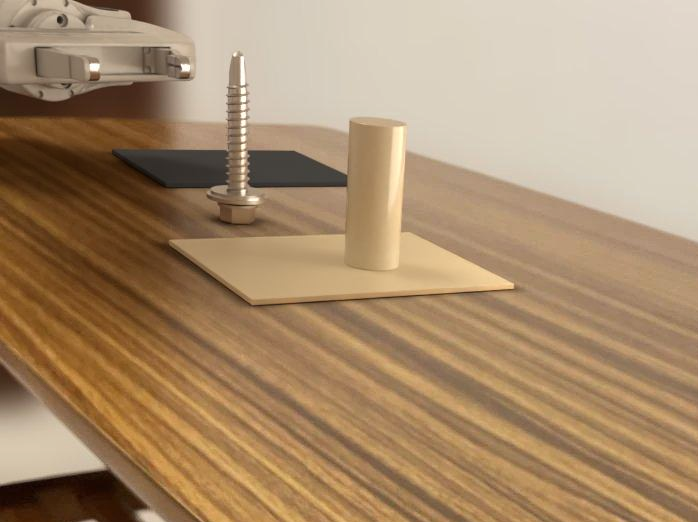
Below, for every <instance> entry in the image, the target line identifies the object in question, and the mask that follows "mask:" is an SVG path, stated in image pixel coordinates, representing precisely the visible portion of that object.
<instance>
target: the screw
mask: <svg viewBox="0 0 698 522" xmlns="http://www.w3.org/2000/svg"><path fill="white" fill-rule="evenodd" d="M249 86H250V84H249V83H247V68H246V63H245V58H244V54H243V53H242V52H241V51H240V50H239V49H236V50H235V51H234V52H233V53H232V54H231V59H230V63H229V71H228V85H227V86H226V89H227V94H225V96H226V97H227V102H225V104H226V105H227V110H225V113H227V118H225V120H226V121H227V126H225V128H226V129H227V133H225V136H226V137H227V141H226V142H225V144H227V149H225V150H226V151H227V152H228V157H227V158H226V159H228V165H226V166H227V167H228V172H227V173H226V174H227V175H228V180H226V182H228V185H221V186H214V187H209V188H210V189H209V190H207V191H206V198H207V199H208V200H210V201H213V202H216V203H217V206H219V220H220V221H222V222H225V223H227V224H228V223H229V224H231V225H250V224H251V223H253V222H255V221H256V209H258V207H259V205H263V204H266V203H268V202H269V195H268V194H267V193H266V192H265V190H263V189H261V188H258V187H250V186H249V185H248V184H247V181H248V180H249V179H250V178H249V177H247V173H249V172H250V171H249V170H248V169H247V166H248V165H249V164H250V163H249V162H248V161H247V159H248V157H250V155H249V154H248V150H251V148H250V146H249V145H248V144H249V143H250V142H251V140H250V139H249V138H248V135H250V134H251V132H250V131H249V130H248V129H249V127H250V126H251V124H250V123H249V119H250V118H251V116H250V115H249V111H250V110H251V108H250V107H249V103H251V100H249V95H250V92H249V91H248V87H249Z"/></svg>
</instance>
